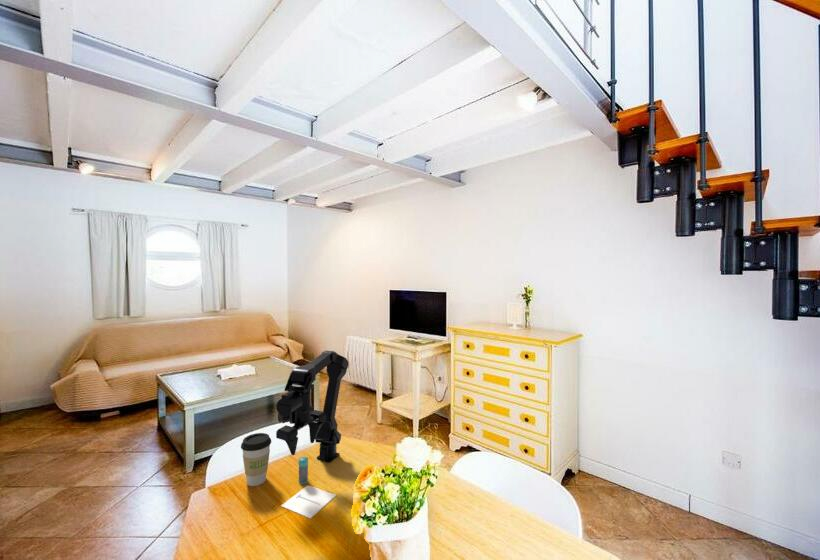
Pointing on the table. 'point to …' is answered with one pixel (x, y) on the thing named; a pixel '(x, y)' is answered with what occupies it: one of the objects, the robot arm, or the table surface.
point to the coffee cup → (256, 457)
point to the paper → (308, 501)
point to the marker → (303, 470)
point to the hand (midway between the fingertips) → (302, 448)
